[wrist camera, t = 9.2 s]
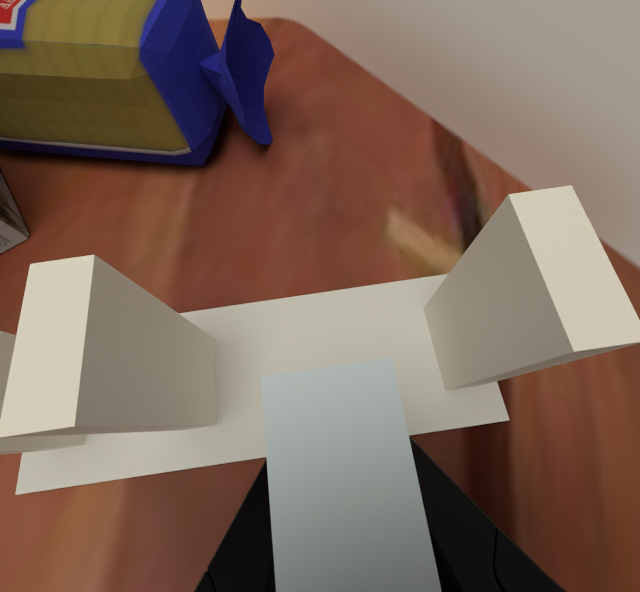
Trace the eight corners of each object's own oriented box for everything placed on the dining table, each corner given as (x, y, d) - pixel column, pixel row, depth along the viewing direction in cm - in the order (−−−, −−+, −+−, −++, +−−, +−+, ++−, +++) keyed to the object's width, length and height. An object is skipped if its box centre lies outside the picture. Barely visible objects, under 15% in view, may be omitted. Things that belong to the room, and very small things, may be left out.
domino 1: (214, 338, 21) (94, 254, 10) (217, 424, 19) (74, 426, 9) (182, 343, 21) (30, 263, 10) (181, 430, 19) (-4, 438, 9)
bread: (32, 75, 32) (-102, -77, 22) (289, 93, 29) (266, -69, 20) (-23, 160, 28) (-211, 22, 18) (265, 188, 26) (223, 47, 16)
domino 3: (455, 303, 21) (571, 185, 10) (480, 385, 19) (649, 340, 9) (423, 307, 21) (508, 194, 10) (445, 390, 19) (574, 351, 9)
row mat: (502, 420, 19) (509, 420, 18) (28, 491, 19) (15, 494, 18) (457, 277, 22) (461, 271, 21) (51, 336, 22) (42, 333, 21)
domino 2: (354, 399, 15) (392, 357, 5) (375, 527, 14) (498, 861, 3) (311, 406, 15) (260, 376, 5) (326, 534, 14) (296, 891, 3)
